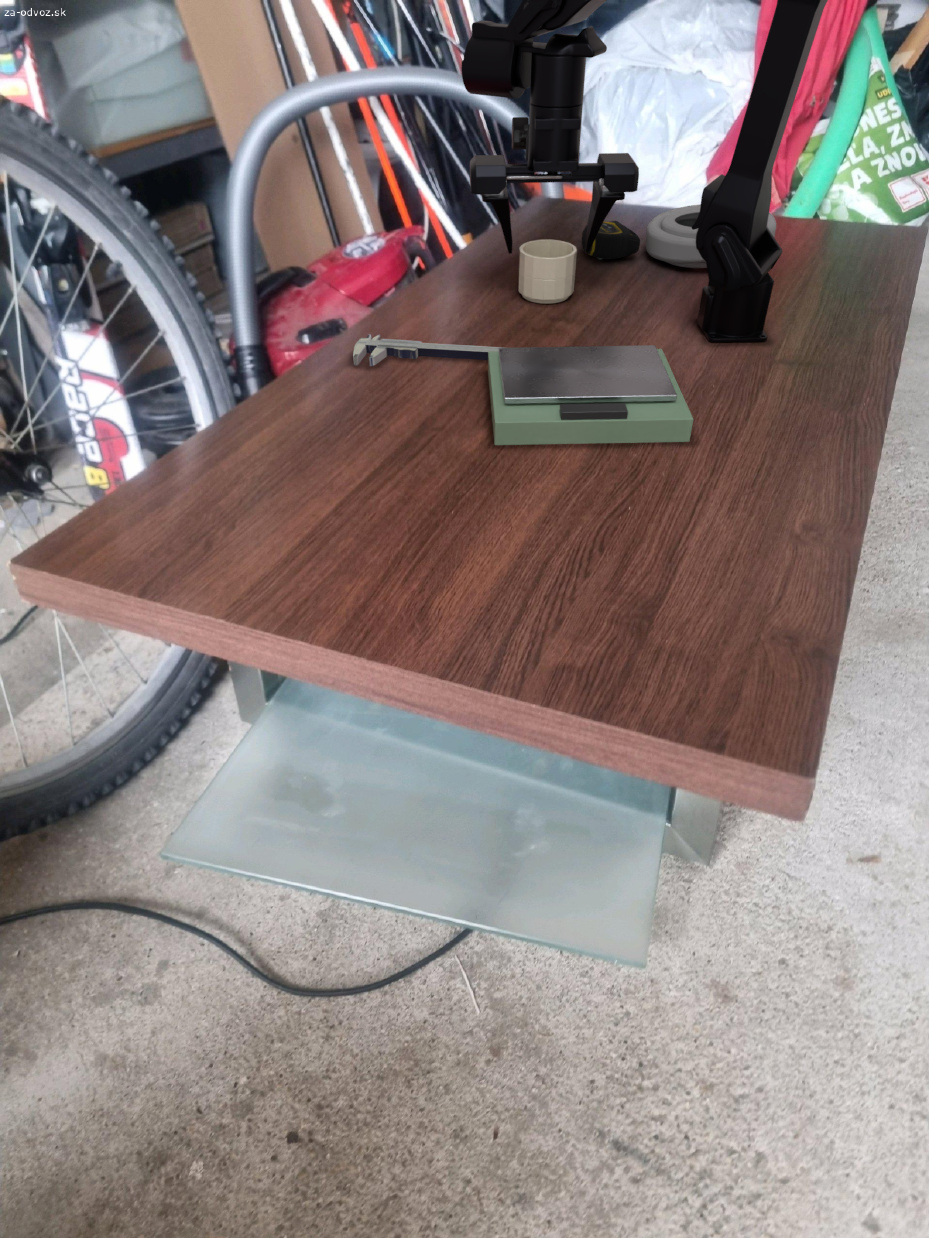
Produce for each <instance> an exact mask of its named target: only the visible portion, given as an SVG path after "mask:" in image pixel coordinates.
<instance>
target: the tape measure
mask: <svg viewBox="0 0 929 1238" xmlns="http://www.w3.org/2000/svg"><path fill="white" fill-rule="evenodd" d="M586 230H587V224H586V225H585V226H584V229H583V230H582V232H581V233H582V234H581V244H580V245H581V248H582V250H583V252H584V253H585V254H586V255H588V256H591V257H593V258H596V259H598V260H599V261H601V260H616V259H620V258H623V257H624V258H625V257H629V256H632V255H634V254H636V253H638V252H639V250H640V245H641V237H639V235H638V234H637V233H636V232H634V231H633V230H632V229H630V228H629V227H627V226H626V225H624V224H622V223H621V222H619V221H618V220H609V221H603V223H602V225H601V227H600V230H599V232H598V234H597V236H596V238H595V240H594V242H593V244H592V247H591V249H590V251H589V252H585V236H586Z"/></svg>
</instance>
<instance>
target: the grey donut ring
mask: <svg viewBox="0 0 929 1238" xmlns="http://www.w3.org/2000/svg"><path fill="white" fill-rule="evenodd" d="M700 207H701V203H700V204H692V205H685V206H681V207H676V208H671V209H669V210H667V211H664V212H661V213H660V214H658V215H656V216H655V217H653V218H652V219H651V220H650V221H649V222H648V224H647V227H646V234H645V235H646V236H645V250H646V253H647V254H648V256H650V257H651V258H653V259H655V260H657V261H661V262H665V263H667V264H670V265H672V266H676V267H680V268H689V269H707V266H706V261H705V260H704V259H703V258H702V257H701V255H700V253H699V251H698V250H697V249H696V234H697V231H698V229H694V230H693V229H692V226H693V224H694V223H695V222H696V220H697V218H698V215H699V213H700ZM767 227H768V229H769V230H770V232H771V233H772V235H773V236H774V238H775V239H776V231H777V221H776V218H775V216H774V215H773V214H772V213H771V212H769V216H768V222H767Z"/></svg>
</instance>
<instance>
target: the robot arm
mask: <svg viewBox="0 0 929 1238" xmlns="http://www.w3.org/2000/svg"><path fill="white" fill-rule="evenodd" d="M606 1H607V0H522V1H521V3H520V4H519V6H518V8H517V10H516V11H515V12H514V15H513V16H512V18H511V20H510V21H509V23H508V24H506V23H496V22H494V21H492V20H491V21H490V20H479V21H475V22H472V23H471V36H470V38H469V39H468V41H467V43H466V46H465V49H464V53H463V59H462V60H461V68H460V69H461V79H462V83H463V86H464V88H465V90H466V92H467V93H469V94H470V95H478V96H488V97H498V98H505V99H506V98H507V99H515V100H517V99H519V98H521V97H522V96H523V95H524V92H525V91H526V90H527V89H529V88H530V90H529V91H530V92H529V93H530V94H529V117H528V116H521V117H520V116H513V117H512V118H511V150H512V151H518V150H521V151H522V150H523V151H524V150H525V153H524V155H525V156H524V157H525V161H527V163H515V164H513V163H511V164H510V163H506V159H505V155H504V154H486V155H485V154H484V155H483V154H482V155H480V154H477V155H474V156H473V157H472V158H471V159H470V160H469V186H470V194H472V195H479V196H480V195H481V200H482V202H484V203H491V205H492V207H493V210H494V212H495V215H496V217H497V219H498V221H499V224H500V227H501V231H502V235H503V238H504V241H505V244H506V249H507V253H508V255H510V254H511V255H512V254H513V232H512V231H513V230H512V222H511V211H510V201H509V193H508V189H507V188H508V187H507V184H533V183H534V184H535V183H536V184H537V183H538V184H539V183H540V184H541V183H544V184H545V183H592V192H591V202H590V206H589V207H590V208H589V214H588V218H587V224H586V225H587V230H586V236H585V252H589V251H590V249H591V247H592V244H593V242H594V240H595V238H596V236H597V234H598V232H599V230H600V227H601V225H602V223H603V222H605V220H606V218H607V217H608V215H609V214H610V212H611V211H612V209H613V207H614V206H615V204H616V202H617V201H624V200H625V197H626V193H635V192H637V191H638V187H639V179H640V169H639V166H638V164H637V163H636V161H635V160H634V158H633V157H632V156H631V155H630V154H629V152H614V153H613V152H609V153H607V152H606V153H601V152H600V153H599V154H598V156H597V159H596V162H580V152H581V151H580V149H581V136H582V135H581V134H582V123H583V121H582V120H583V107H584V94H585V82H586V81H585V79H586V66H587V65H586V64H587V58H588V59H592V58H595V57H598V56H600V55H603V54H605V53H606V52H607V51H608V47H607V44H606V43H605V42H604V41H603V40H602V39H601V38H600V36H598V35H597V33H596V30H595V28H594V26H592V25H591V26H587V27H584V28H582V29H581V31H580V32H579V33H578V34H569V33H553V34H552V35H551V36H550V38H549V39H548V41H547V42H537V41H534V38H536V37H539V36H542V35H545V34H548V33H552V32H555V31H556V30H559V29H562V28H565V27H568V26H572V25H575V24H578V23H581V22H584V21H585V20H586V19H587V18H589V17H590V16H591V15H592V14H593V13H594V12H596V10H598V9H599V8H600V7H602V5H603V4H604V3H605V2H606ZM828 1H829V0H776V5H775V6H776V7H775V10H774V12H773V16H772V20H771V22H770V27H769V29H768V34H767V37H766V41H765V44H764V47H763V50H762V54H761V57H760V61H759V65H758V68H757V72H756V75H755V78H754V82H753V85H752V88H751V92H750V94H749V95H750V96H749V99H748V103H747V107H746V110H745V113H744V117H743V120H742V123H741V127H740V131H739V134H738V138H737V140H736V144H735V148H734V151H733V154H732V158H731V161H730V165H729V168H728V170H727V171H726V174H720V175H718V176H717V177H716V178H715V179H713V180H712V181H711V182H709V183H708V184H707V185H706V186H705V187H703V189H702V193H701V198H700V204H701V207H700V213H699V215H698V218H697V220H696V222H695V223H694V224H693V226H692V229H693V230H694V229H698V231H697V234H696V249H697V250H698V251H699V253H700V255H701V257H702V258H703V259H704V260H705V261H706V266H707V268H706V271H707V276H708V282H707V283H708V284H707V285H704V286H703V287H702V289H701V296H700V301H699V307H698V308H699V309H698V313H697V319H696V323H697V324H698V326H699V327H700V329H701V331H702V333H703V334H704V336H705V339H707V341H708V342H709V343H759V342H760V343H761V342H762V343H763V342H767V341H768V335H767V334H766V332H765V330H764V328H765V324H766V319H767V316H768V310H769V306H770V302H771V299H772V298H771V297H772V293H773V288H774V285H775V284H774V283H775V279H774V278H773V277H772V276H771V274H770V273H769V272H770V271H771V270H772V269H773V268H774V267H775V265H776V263H777V262H778V260H779V259H780V258H781V256H782V254H783V251H784V250H783V249H782V247H781V245H780V244H779V242H778V241H777V240H776V237H775V238H774V236H773V235H772V233H771V232H770V230H769V229H768V227H767V222H768V216H769V213H770V209H771V203H772V195H773V194H772V189H773V187H772V186H773V185H772V184H773V183H772V182H773V169H774V165H775V162H776V159H777V155H778V152H779V150H780V147H781V143H782V140H783V137H784V133H785V130H786V128H787V124H788V122H789V118H790V116H791V112H792V109H793V106H794V103H795V100H796V96H797V93H798V91H799V87H800V84H801V81H802V78H803V75H804V72H805V68H806V66H807V62H808V59H809V56H810V54H811V50H812V46H813V43H814V40H815V37H816V34H817V31H818V28H819V25H820V21H821V18H822V16H823V12H824V10H825V7H826V5H827V3H828ZM585 252H584V253H585Z"/></svg>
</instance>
